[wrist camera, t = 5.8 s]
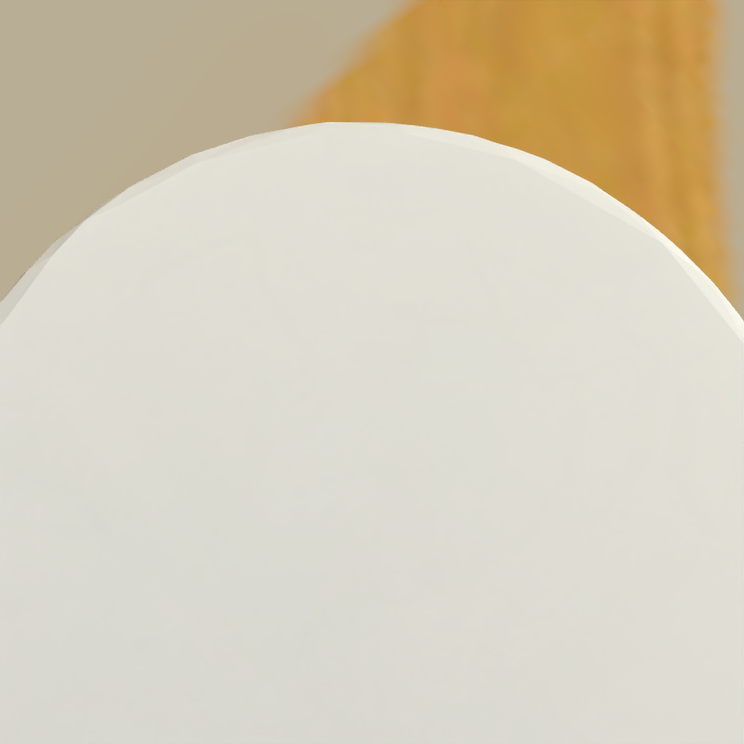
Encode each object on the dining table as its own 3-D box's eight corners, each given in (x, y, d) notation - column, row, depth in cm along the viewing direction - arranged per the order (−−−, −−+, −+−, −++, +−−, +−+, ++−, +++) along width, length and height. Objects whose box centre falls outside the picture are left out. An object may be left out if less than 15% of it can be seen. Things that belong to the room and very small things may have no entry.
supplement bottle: (221, 420, 15) (-574, 395, 2) (396, 296, 16) (483, -280, 3) (348, 605, 15) (153, 1825, 2) (527, 472, 15) (1384, 741, 2)
